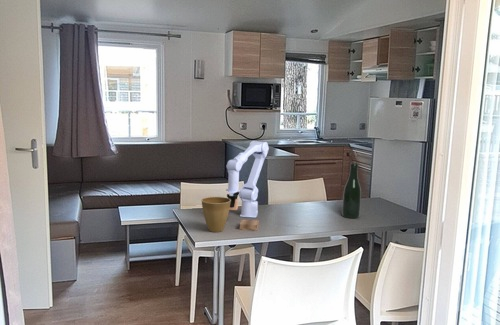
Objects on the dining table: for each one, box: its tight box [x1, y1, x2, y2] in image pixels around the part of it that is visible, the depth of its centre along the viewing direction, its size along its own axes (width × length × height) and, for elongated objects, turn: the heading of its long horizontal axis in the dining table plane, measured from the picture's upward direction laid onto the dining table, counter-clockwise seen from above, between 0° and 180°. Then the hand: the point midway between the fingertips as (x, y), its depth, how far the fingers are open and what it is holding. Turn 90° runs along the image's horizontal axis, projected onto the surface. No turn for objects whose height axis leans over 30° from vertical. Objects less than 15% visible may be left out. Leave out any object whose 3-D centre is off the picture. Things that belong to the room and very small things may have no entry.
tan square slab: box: [239, 219, 260, 232], centre depth 241 cm, size 9×9×3 cm
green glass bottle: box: [341, 160, 362, 219], centre depth 268 cm, size 10×10×33 cm
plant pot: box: [201, 196, 231, 233], centre depth 233 cm, size 15×15×16 cm
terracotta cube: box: [229, 198, 239, 211], centre depth 251 cm, size 5×5×5 cm
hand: (232, 205), depth 251 cm, fingers closed on terracotta cube, 5 cm apart
